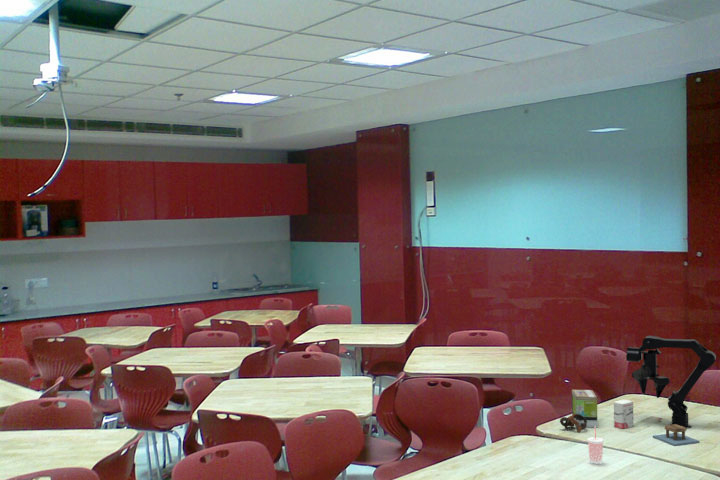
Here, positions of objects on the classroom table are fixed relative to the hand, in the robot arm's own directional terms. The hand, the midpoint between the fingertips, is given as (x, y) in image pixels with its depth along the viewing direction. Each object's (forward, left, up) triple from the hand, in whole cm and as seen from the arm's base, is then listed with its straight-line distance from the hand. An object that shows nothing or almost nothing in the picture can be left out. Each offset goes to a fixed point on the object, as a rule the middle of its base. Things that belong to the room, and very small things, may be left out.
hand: (650, 395), depth 313 cm
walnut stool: (+8, +25, -12) cm, 29 cm away
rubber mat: (+8, +25, -13) cm, 30 cm away
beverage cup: (+57, +37, -13) cm, 70 cm away
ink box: (+15, 0, -13) cm, 20 cm away
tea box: (+29, -11, -13) cm, 34 cm away
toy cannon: (+40, -4, -13) cm, 42 cm away
